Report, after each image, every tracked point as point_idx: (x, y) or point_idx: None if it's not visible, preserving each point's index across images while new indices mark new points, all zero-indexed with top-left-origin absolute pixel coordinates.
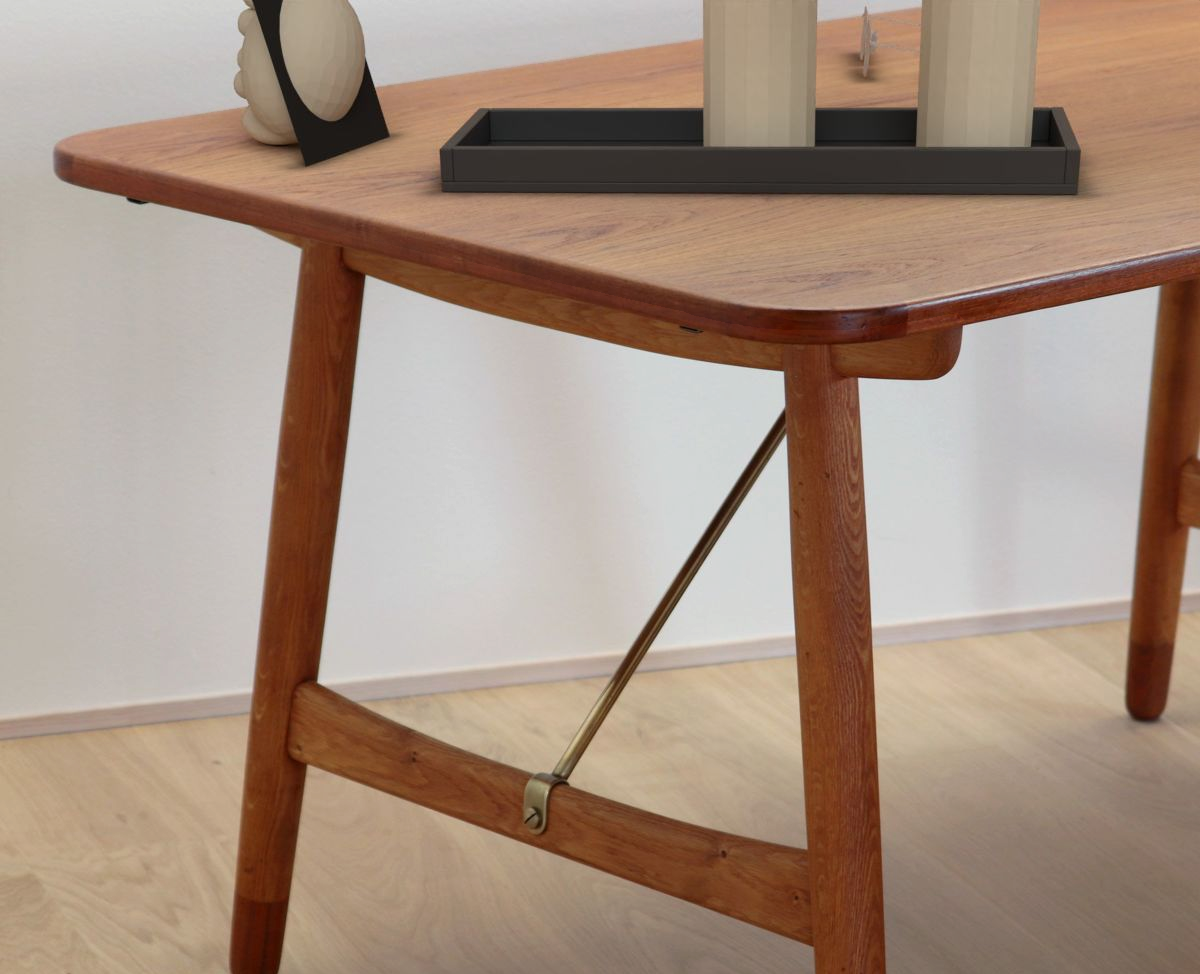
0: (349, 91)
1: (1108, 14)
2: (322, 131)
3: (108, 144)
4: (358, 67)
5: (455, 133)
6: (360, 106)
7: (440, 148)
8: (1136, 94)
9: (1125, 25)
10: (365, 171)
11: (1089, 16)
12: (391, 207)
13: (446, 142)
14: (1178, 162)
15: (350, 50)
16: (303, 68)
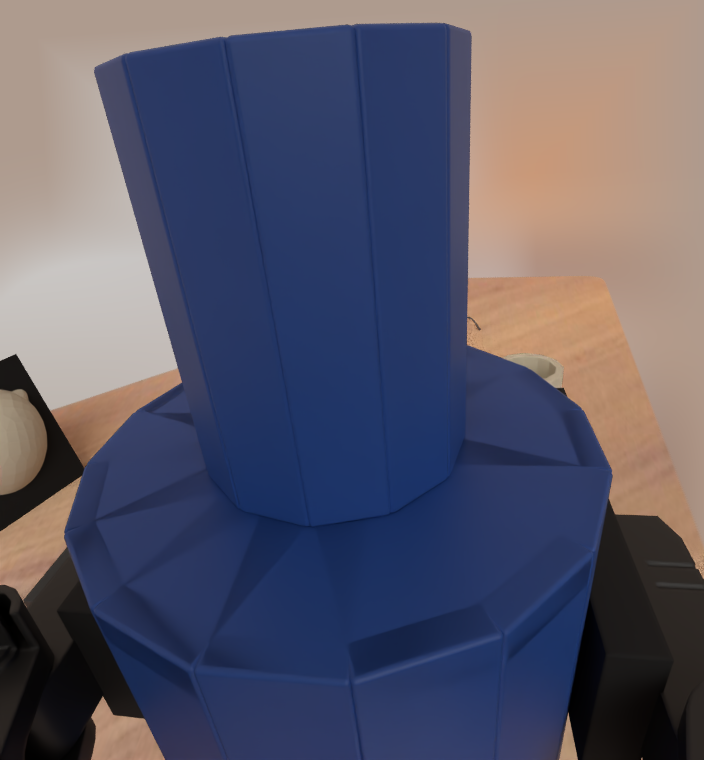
0: (23, 472)
1: (559, 281)
2: (4, 504)
3: None
4: (28, 455)
5: (66, 548)
6: (52, 464)
7: (24, 599)
8: (609, 398)
9: (572, 294)
10: (17, 556)
11: (549, 284)
12: None
13: (41, 578)
14: (699, 566)
15: (14, 448)
16: None
